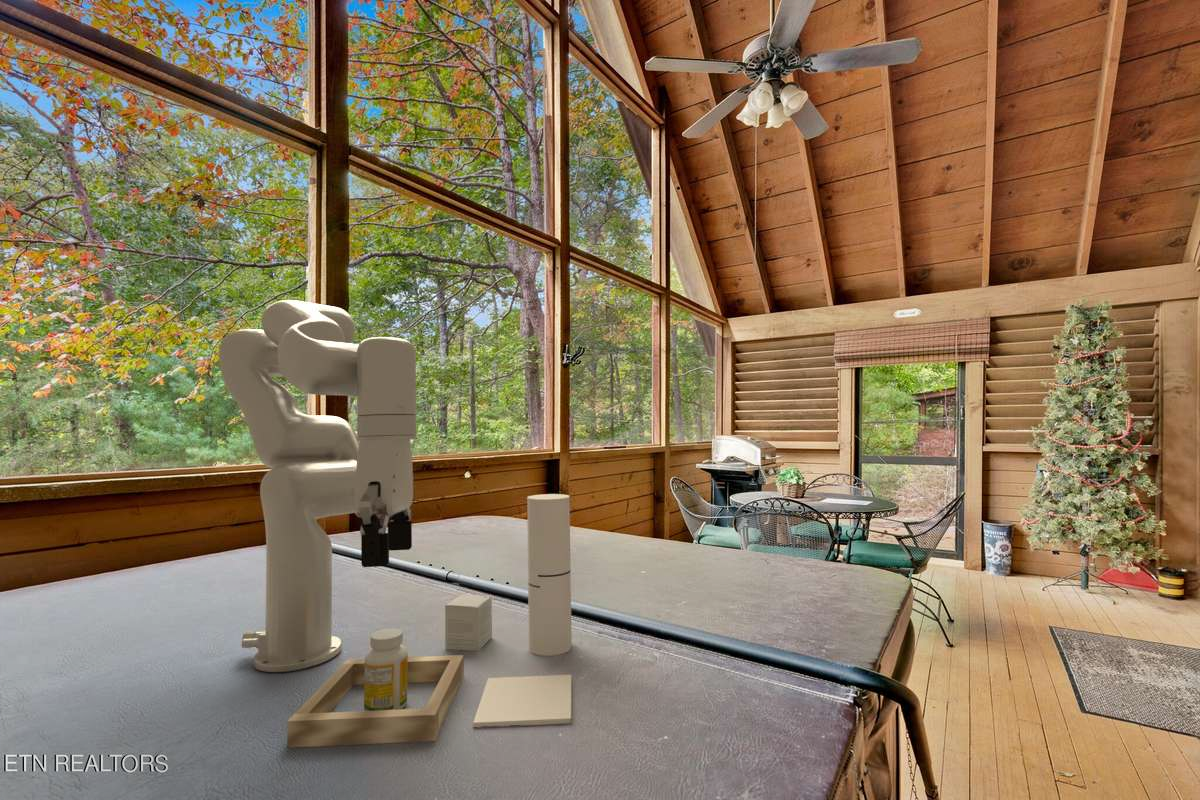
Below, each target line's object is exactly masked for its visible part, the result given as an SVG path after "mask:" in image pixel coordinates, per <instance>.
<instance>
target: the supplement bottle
mask: <svg viewBox="0 0 1200 800" xmlns="http://www.w3.org/2000/svg"><path fill="white" fill-rule="evenodd" d="M403 635H404V633H403V630H401V629H399V628H396V627H395V628H390V627H389V628H384V629H379V630H377V631H374V632H373V633H371V635H370V642H369V644H370V648H371V649H370V650H368V652H367V653H366V655H365V658H364V659H365V683H364V686H363V687H364V690H363V691H364V695H363V696H364V697H363V698H364V700H363V709H364V710H363V711H376V710H399V709H405V706H406V705H407V702H408V683H407V667H408V657H409V656H408V654H409V653H408V649H407V647H406V646H404V645H402V644H403V640H404V638H403V637H404V636H403Z"/></svg>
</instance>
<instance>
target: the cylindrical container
mask: <svg viewBox="0 0 1200 800" xmlns="http://www.w3.org/2000/svg"><path fill="white" fill-rule="evenodd" d="M526 501H527V507H526V508H527V583H528V585H527V587H528V588H527V591H528V594H527V595H528V598H527V599H528V603H527V604H528V605H527V606H528V607H527V608H528V650H529V652H530V653H532V654H534V655H537V656H542V657H550V656H559V655H563V654H566V653H567V652H569V651H570V650H571V649H572V647H573V646H572V645H573V644H572V641H573V640H572V639H573V636H572V634H573V633H572V583H571V581H572V579H571V577H572V576H571V575H572V574H571V570H572V569H571V515H570V514H571V513H570V512H571V510H570V509H571V508H570V507H571V506H570V505H571V504H570V503H571V501H570V495H568V494H563V493H560V494H559V493H546V494H545V493H544V494H542V493H541V494H534V495H529V496H527V498H526Z"/></svg>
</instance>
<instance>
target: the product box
mask: <svg viewBox="0 0 1200 800" xmlns="http://www.w3.org/2000/svg"><path fill="white" fill-rule="evenodd" d="M492 601H493V600H492V595H477V594H474V595H471V594H460V595H459V596H457V597H455V598H454V599H453V600H451V601H449V602H448V603H447V604H444V605H445V611H444V613H445V616H444V618H445V622H444V623H445V624H444V625H445V629H444V630H445V631H444V632H445V633H444V635H445V637H444V638H445V639H444V647H445V649H446V650H456V651H469V652H479V651H480V650H481V649H482V648H483V647H484V646H485V645H486V643H487V642H489V641H490V640H491V639H492V637H493V622H492V621H493V617H492V615H493V614H492V613H493V609H492Z"/></svg>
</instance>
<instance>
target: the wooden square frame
mask: <svg viewBox="0 0 1200 800" xmlns="http://www.w3.org/2000/svg"><path fill="white" fill-rule="evenodd" d="M464 657H465V655H463V654H460V655H458V654H457V655H455V654H453V655H434V656H433V655H432V656H431V655H430V656H429V655H428V656H408V667H407V684H411V683H431V682H432V683H434V682H436V683H437V682H438V683H437V685H436V686H435V689H434V691H433V692H432V694H431V696H430V698H429V700H428V702H427V704H426V706H425V708H424V707H423V708H403V709H399V710H376V711H365V710H358V711H357V710H356V711H335V712H334V711H333V710H334V709H335V708H336V706H337V705H338V704H339V703H340V702H341V701H342V700H343V698H344V697H345V696H347V693H349V691H350V690H351V689H352V688H353V687H354V686H362V685H364V683H365V658H355V659H353V658H351V659H346V660H345V661H344V662H343V663H342V664H341V665H340V666H339V667H338V668H337V670H336V671H334V672H333V674H331V676H329V678H327V680H326V681H325V682H324V683H323V684H322V685H321V686H320V687H319V688H318V689H317V690H316V691H315V692H314V693H313V694H312V695H311V696H310V697H309V698H308V699H307V700H306V701H305V702H304V703H303V704H302V706H301V707H300V708H298V709H297V711H296V712H294V713H293V715H292V716H290V718H289V719H288V720H287V721H286V723H287V724H286V730H287V731H286V748H287V749H288V748H308V747H309V748H310V747H331V746H350V745H351V746H353V745H354V746H355V745H372V744H373V745H375V744H376V745H377V743H378V744H394V743H397V744H398V743H417V742H418V743H421V742H436V741H437V738H438V737H439V736H438V735H439V734H440V733H439V732H440V730H441V728H442V726H443V724H444V722H445V720H444V719H446V717H447V714H448V712H449V710H450V708H451V707H452V706H451V705H452V704H453V701H454V699H455V697H456V694H457V692H458V690H457V689H459V688H458V687H460V685H461V683H462V681H461V680H463V678H464V676H465V675H464V674H465V672H464V671H465V667H464V665H465V662H464V661H465V659H464ZM332 711H333V712H332Z"/></svg>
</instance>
